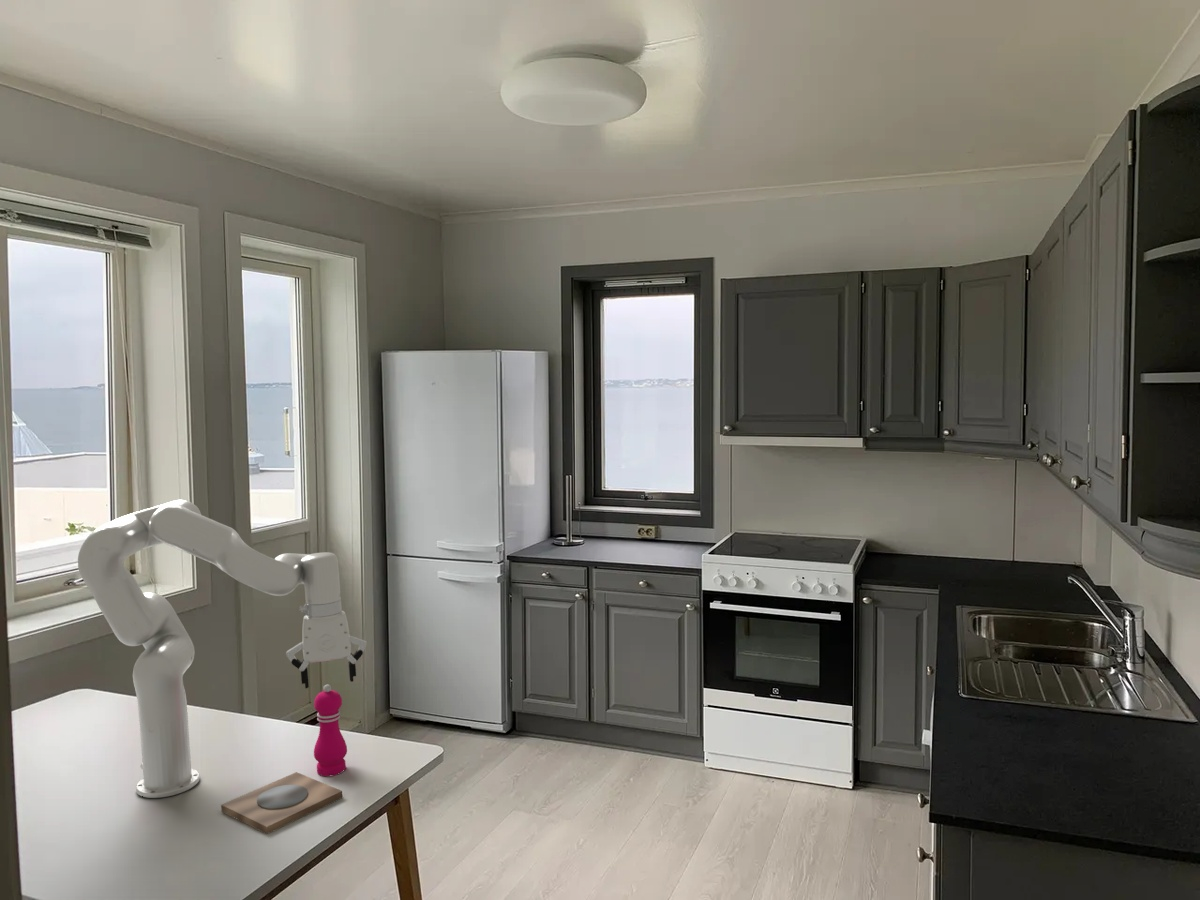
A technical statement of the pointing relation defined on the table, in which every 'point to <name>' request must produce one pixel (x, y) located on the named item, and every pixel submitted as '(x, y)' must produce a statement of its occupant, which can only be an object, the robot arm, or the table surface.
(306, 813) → the walnut board
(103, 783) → the table surface
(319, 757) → the pepper mill
